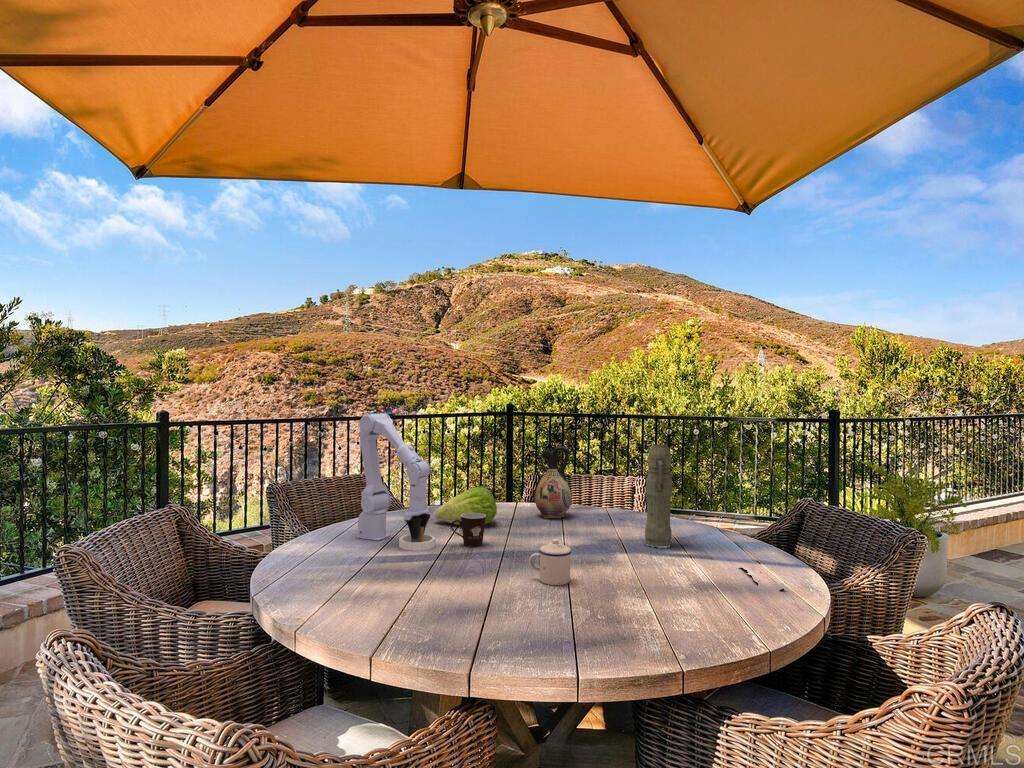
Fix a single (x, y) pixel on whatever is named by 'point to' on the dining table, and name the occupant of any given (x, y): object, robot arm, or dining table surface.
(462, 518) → the coffee mug
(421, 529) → the brown wooden block
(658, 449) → the carved stone statue
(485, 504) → the chayote
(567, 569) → the teacup with lid
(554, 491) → the ceramic jug
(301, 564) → the dining table surface
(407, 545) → the white shallow dish
